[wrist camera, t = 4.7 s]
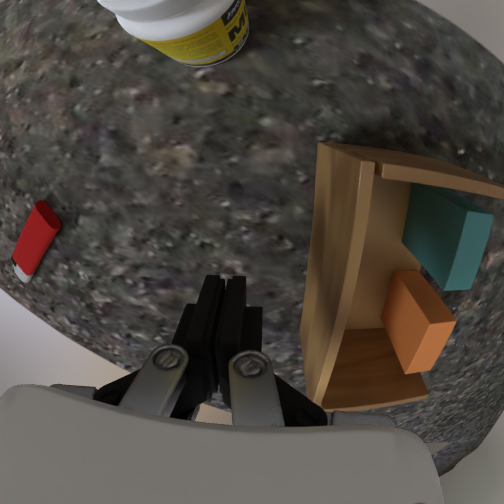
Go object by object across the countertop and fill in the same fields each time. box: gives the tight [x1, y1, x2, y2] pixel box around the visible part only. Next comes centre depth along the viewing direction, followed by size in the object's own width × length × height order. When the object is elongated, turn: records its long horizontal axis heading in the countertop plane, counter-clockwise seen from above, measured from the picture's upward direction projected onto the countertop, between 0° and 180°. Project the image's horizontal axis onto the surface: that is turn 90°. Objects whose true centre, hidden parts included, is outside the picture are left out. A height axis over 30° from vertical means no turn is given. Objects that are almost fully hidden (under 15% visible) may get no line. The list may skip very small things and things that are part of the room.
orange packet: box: [380, 270, 457, 374], centre depth 15 cm, size 4×2×6 cm, turn 0°
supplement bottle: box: [97, 0, 249, 67], centre depth 8 cm, size 5×5×8 cm
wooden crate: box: [300, 142, 504, 412], centre depth 13 cm, size 13×8×7 cm, turn 0°
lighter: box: [11, 200, 61, 283], centre depth 17 cm, size 3×1×8 cm
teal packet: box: [401, 182, 494, 291], centre depth 12 cm, size 4×2×6 cm, turn 0°
